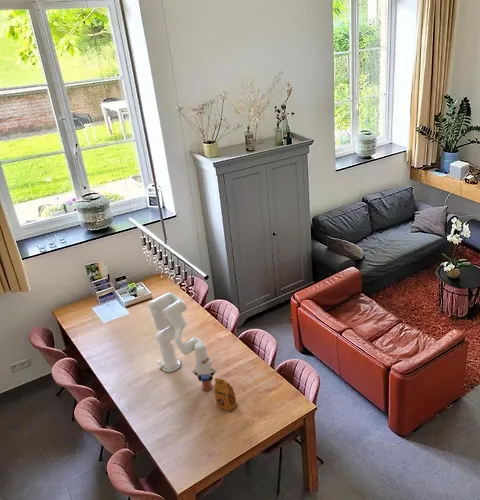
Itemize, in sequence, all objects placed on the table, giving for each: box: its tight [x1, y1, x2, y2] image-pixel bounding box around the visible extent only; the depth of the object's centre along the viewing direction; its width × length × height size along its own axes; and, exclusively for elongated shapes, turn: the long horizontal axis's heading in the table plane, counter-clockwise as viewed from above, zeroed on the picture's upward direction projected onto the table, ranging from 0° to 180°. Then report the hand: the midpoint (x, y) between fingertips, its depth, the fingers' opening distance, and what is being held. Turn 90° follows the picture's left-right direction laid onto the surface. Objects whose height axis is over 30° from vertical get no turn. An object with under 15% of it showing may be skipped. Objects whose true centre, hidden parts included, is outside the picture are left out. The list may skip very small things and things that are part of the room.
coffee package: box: [213, 377, 237, 412], centre depth 339 cm, size 10×12×22 cm
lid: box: [200, 374, 210, 382], centre depth 355 cm, size 7×7×2 cm
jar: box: [200, 380, 213, 392], centre depth 357 cm, size 6×6×9 cm
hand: (205, 379), depth 356 cm, fingers closed on lid, 6 cm apart
